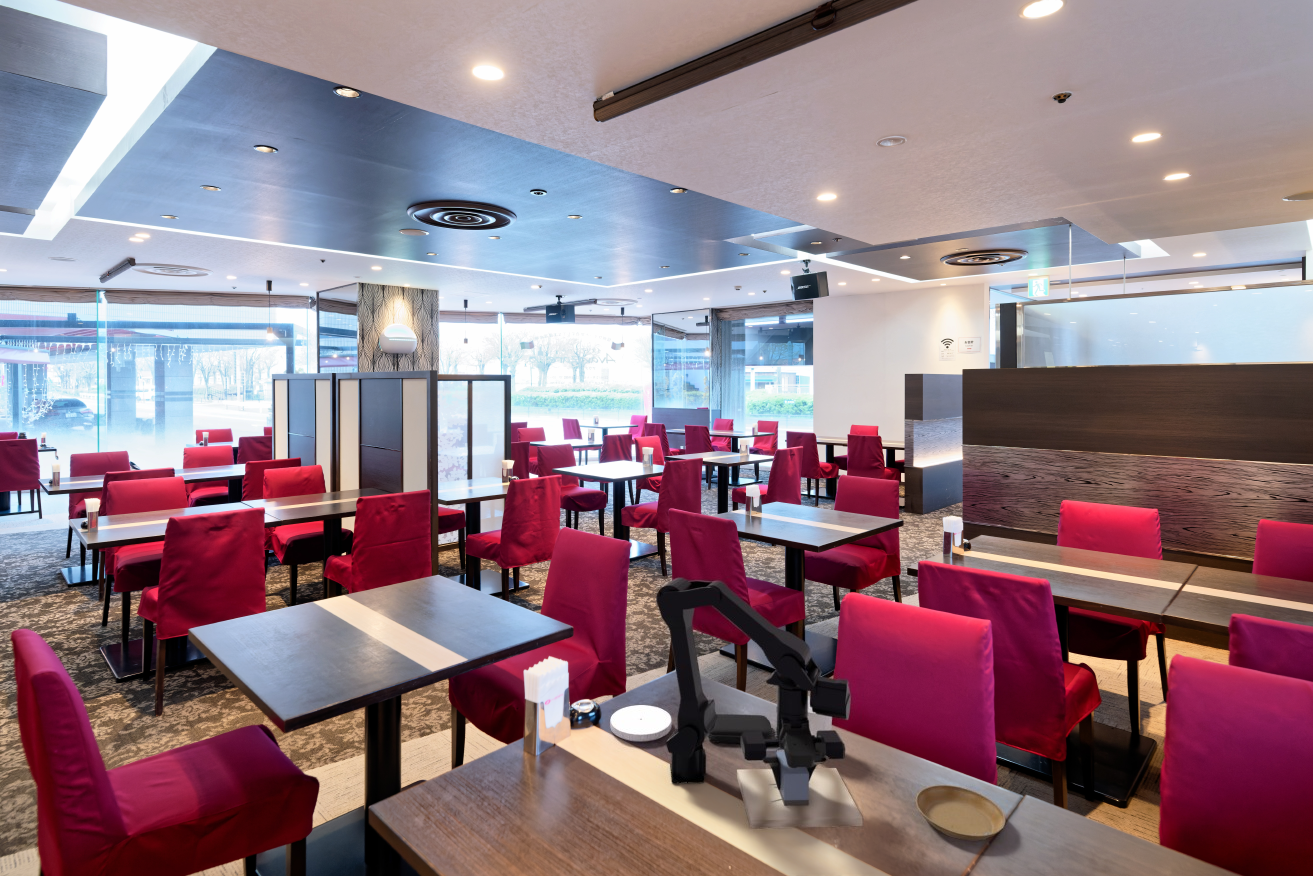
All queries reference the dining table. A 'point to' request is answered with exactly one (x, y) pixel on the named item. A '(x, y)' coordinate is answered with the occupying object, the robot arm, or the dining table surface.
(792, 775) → the block
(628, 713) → the plastic lid
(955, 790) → the plant saucer
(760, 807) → the board
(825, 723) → the white cup
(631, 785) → the dining table surface
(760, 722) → the carrying case or bag
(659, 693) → the dining table surface
